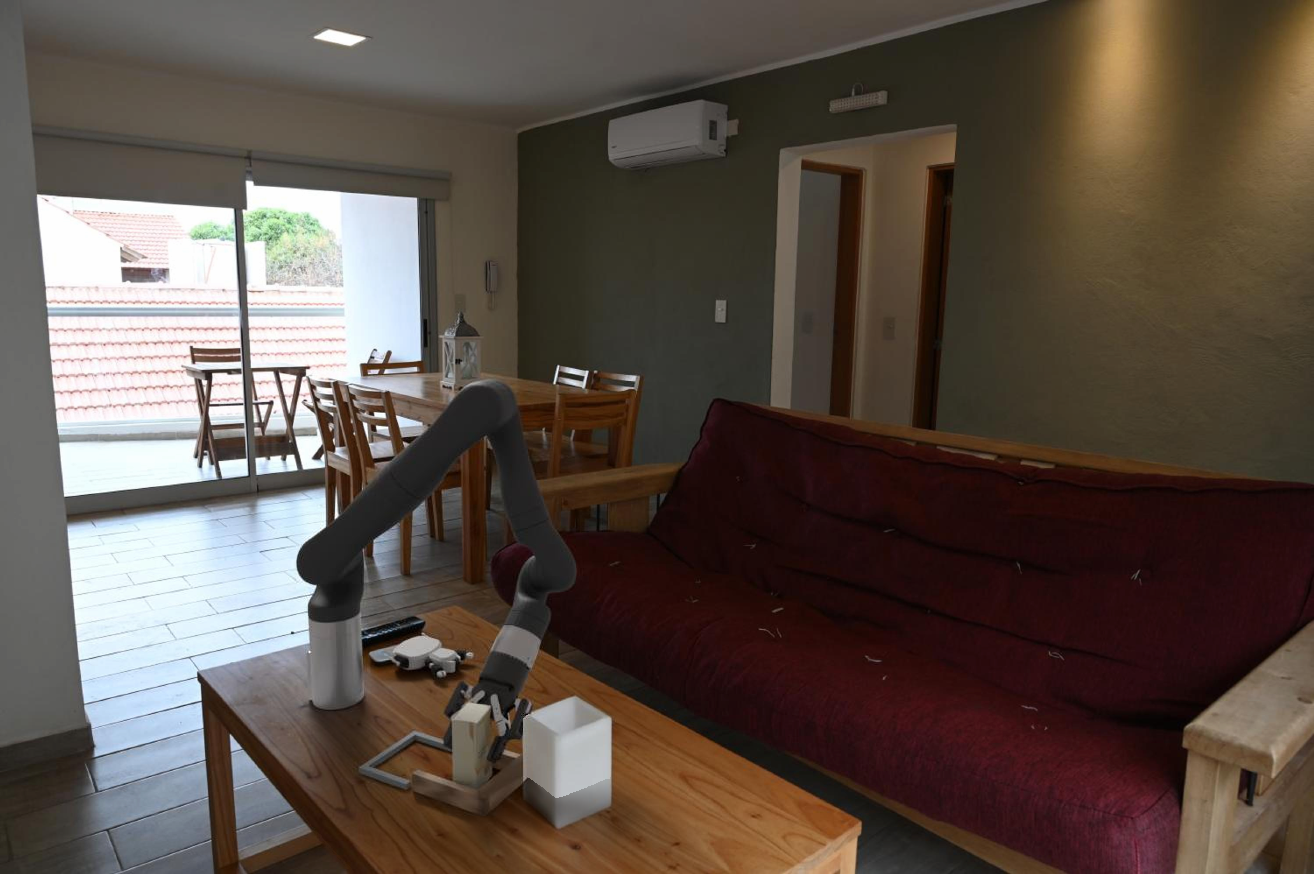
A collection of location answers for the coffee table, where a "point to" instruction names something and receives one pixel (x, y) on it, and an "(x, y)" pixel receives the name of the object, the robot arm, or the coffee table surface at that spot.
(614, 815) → the coffee table surface
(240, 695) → the coffee table surface
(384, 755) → the bracket
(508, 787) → the frame
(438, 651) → the robot toy
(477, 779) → the skincare box
